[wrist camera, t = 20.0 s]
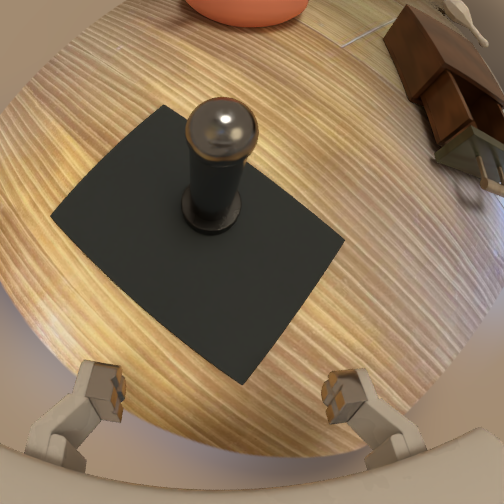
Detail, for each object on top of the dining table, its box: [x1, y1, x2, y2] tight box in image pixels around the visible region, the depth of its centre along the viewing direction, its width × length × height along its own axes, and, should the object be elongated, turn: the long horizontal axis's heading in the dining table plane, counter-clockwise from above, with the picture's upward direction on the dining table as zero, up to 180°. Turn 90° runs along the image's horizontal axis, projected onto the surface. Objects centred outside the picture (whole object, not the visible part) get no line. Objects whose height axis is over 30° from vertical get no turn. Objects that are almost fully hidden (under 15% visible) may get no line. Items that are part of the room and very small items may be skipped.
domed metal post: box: [181, 97, 259, 236], centre depth 17 cm, size 4×4×12 cm
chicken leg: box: [442, 0, 488, 47], centre depth 46 cm, size 8×18×8 cm, turn 53°
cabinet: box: [383, 4, 504, 110], centre depth 30 cm, size 15×15×9 cm
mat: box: [50, 105, 345, 385], centre depth 22 cm, size 20×14×1 cm
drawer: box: [420, 69, 504, 197], centre depth 27 cm, size 18×13×7 cm
